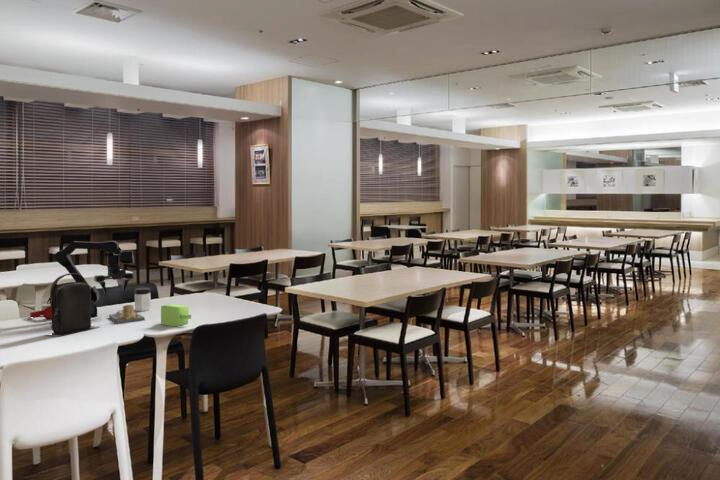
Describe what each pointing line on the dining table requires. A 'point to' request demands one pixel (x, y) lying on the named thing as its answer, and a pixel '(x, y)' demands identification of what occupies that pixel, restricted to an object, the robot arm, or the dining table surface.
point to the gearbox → (174, 315)
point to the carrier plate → (116, 318)
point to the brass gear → (128, 312)
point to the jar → (142, 299)
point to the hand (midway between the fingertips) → (114, 293)
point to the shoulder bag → (71, 307)
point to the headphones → (42, 313)
